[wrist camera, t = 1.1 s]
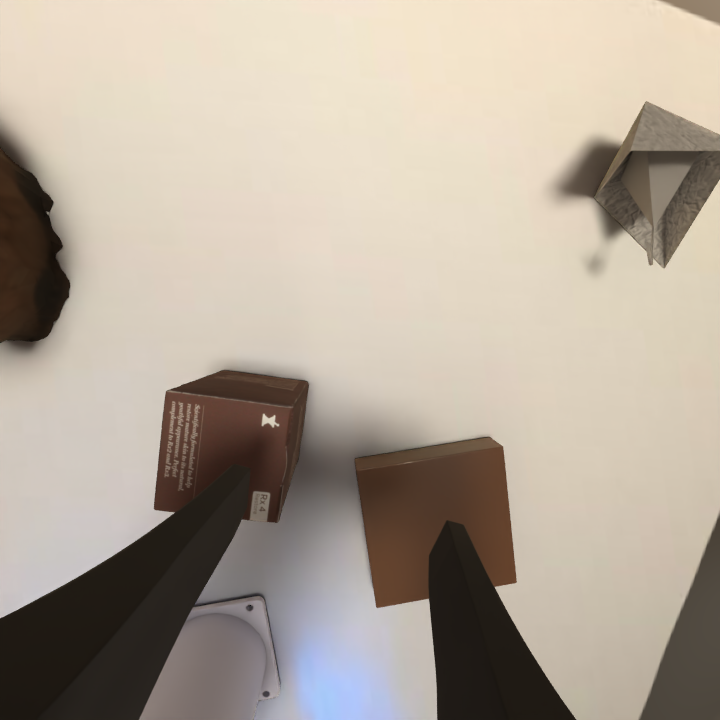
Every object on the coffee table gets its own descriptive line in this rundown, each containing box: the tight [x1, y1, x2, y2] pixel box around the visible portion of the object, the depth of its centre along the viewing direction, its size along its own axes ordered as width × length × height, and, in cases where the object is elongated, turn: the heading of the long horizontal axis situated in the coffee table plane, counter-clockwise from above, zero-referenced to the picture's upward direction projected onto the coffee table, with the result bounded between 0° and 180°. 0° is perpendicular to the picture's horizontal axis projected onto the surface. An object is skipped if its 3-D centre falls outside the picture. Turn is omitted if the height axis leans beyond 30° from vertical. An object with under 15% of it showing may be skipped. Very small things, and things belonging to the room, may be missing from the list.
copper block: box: [355, 437, 517, 608], centre depth 23 cm, size 10×10×2 cm
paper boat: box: [594, 101, 720, 268], centre depth 19 cm, size 12×6×9 cm
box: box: [154, 370, 309, 523], centre depth 19 cm, size 6×6×7 cm
